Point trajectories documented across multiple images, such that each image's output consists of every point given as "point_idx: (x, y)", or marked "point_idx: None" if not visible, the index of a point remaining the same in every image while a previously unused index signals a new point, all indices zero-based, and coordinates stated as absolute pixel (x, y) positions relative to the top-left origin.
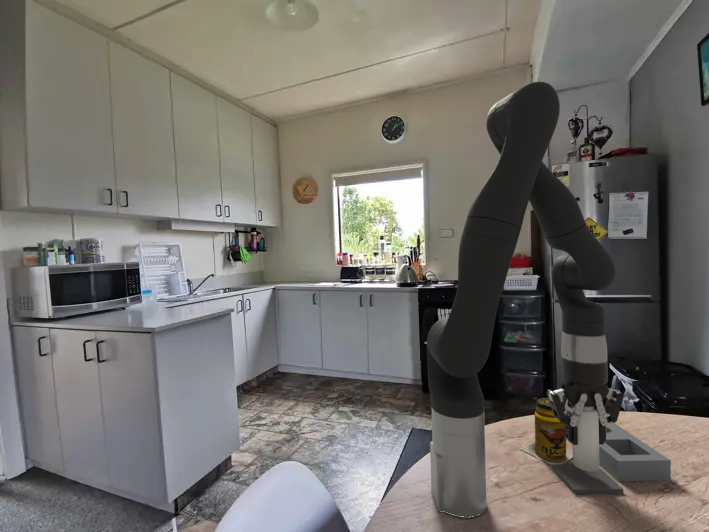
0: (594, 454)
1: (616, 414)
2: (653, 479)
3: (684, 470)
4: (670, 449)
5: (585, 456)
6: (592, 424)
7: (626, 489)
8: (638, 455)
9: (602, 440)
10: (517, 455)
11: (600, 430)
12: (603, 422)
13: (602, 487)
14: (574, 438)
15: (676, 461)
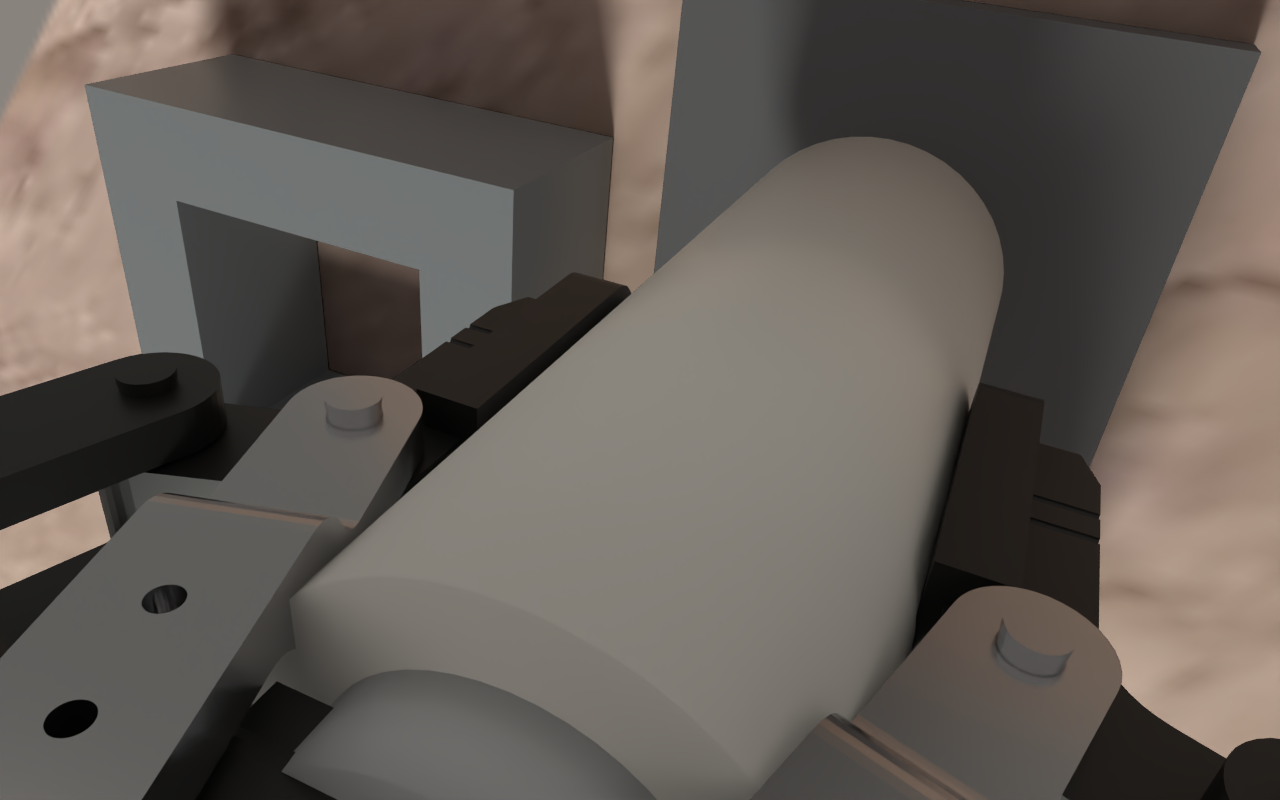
0: (813, 198)
1: (9, 421)
2: (337, 80)
3: (93, 142)
4: (58, 354)
5: (934, 238)
6: (649, 425)
7: (629, 15)
8: (279, 218)
9: (568, 295)
10: (1241, 734)
11: (511, 369)
12: (366, 422)
13: (877, 27)
14: (1029, 445)
15: (88, 241)
